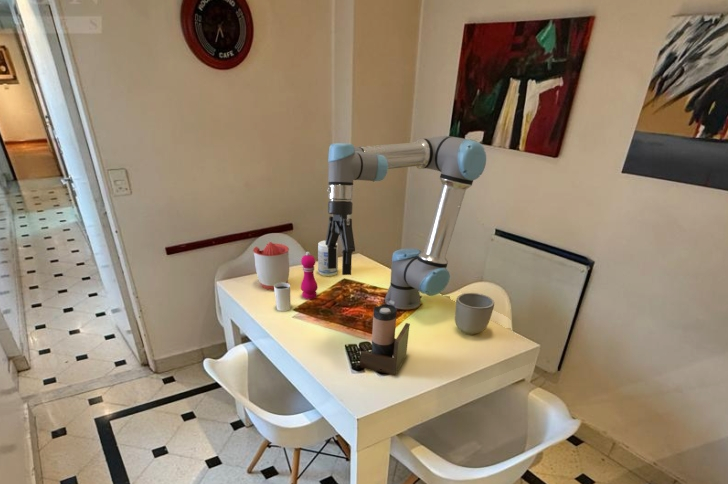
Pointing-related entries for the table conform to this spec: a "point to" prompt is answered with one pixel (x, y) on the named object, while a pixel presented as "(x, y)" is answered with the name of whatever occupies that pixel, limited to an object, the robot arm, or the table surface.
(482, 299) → the planter
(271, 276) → the citrus juicer
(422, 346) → the table surface
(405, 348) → the shelf rack
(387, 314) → the travel mug
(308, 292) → the pepper mill
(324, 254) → the supplement tub
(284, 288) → the white cup
